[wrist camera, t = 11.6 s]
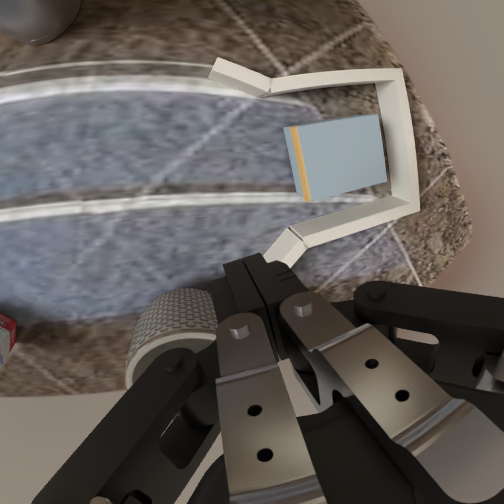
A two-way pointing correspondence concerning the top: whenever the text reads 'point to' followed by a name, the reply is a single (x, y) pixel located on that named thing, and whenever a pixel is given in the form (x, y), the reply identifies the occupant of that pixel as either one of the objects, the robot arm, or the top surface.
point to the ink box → (6, 336)
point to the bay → (397, 146)
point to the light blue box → (336, 155)
